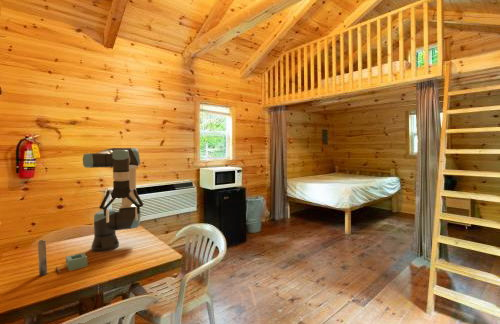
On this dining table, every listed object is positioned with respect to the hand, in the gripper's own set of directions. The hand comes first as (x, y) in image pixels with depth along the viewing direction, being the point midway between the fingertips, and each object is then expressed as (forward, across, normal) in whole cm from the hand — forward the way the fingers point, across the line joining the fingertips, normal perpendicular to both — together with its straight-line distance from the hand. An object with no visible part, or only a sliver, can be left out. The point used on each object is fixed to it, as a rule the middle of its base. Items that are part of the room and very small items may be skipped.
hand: (122, 221), depth 135 cm
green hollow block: (+25, -24, +9) cm, 36 cm away
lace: (+25, -31, +6) cm, 40 cm away
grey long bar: (+25, -37, +3) cm, 44 cm away
